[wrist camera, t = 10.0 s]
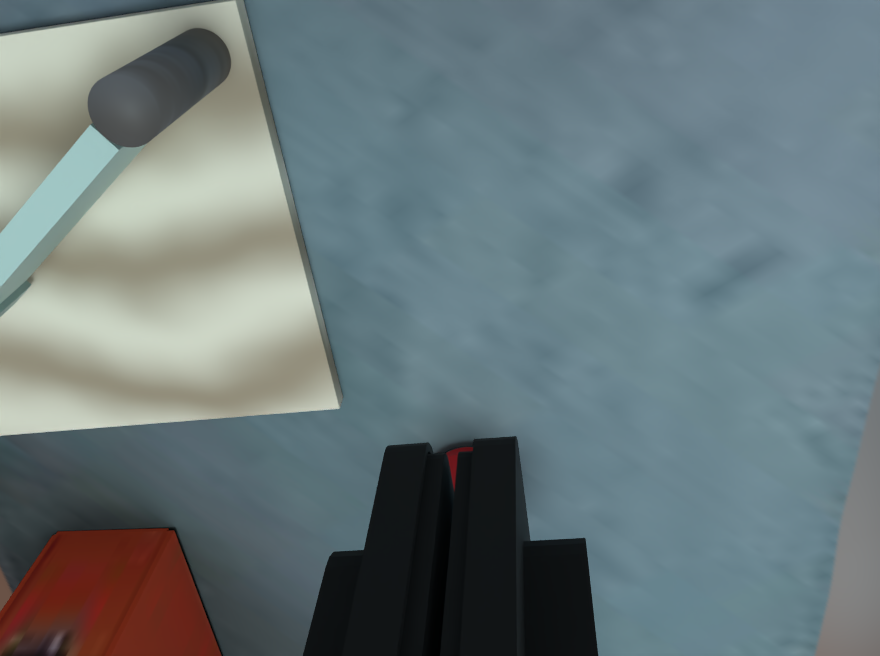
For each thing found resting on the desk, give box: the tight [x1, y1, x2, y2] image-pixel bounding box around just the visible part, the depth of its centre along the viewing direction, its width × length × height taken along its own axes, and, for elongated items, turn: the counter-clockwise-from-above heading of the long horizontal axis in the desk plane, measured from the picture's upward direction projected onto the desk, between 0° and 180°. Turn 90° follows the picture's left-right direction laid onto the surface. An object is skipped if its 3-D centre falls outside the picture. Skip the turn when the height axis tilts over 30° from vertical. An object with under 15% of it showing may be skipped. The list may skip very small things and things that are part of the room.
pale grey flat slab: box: [0, 123, 146, 317], centre depth 34 cm, size 14×2×7 cm, turn 134°
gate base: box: [0, 0, 343, 436], centre depth 36 cm, size 20×20×9 cm
